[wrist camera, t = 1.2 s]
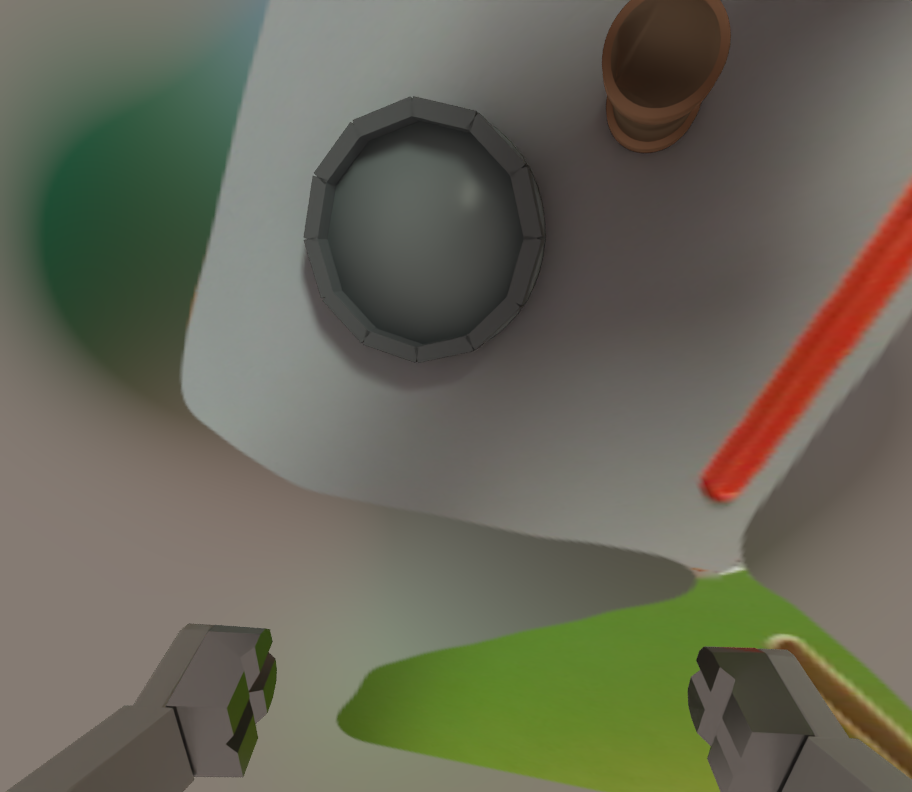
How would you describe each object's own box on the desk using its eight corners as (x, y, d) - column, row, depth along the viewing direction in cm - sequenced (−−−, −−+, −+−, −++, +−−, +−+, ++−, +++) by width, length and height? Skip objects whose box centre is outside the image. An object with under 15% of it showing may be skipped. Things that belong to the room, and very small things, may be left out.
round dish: (343, 83, 39) (325, 72, 36) (580, 138, 35) (577, 130, 33) (306, 317, 45) (289, 320, 43) (504, 385, 41) (497, 393, 39)
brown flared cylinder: (624, 48, 33) (626, -30, 24) (714, 65, 32) (752, -9, 23) (594, 142, 35) (585, 103, 26) (678, 162, 34) (700, 129, 24)
